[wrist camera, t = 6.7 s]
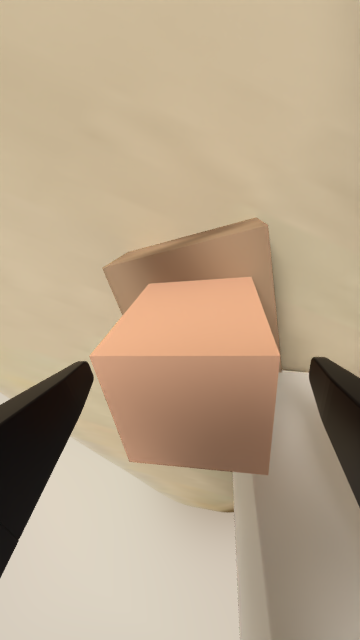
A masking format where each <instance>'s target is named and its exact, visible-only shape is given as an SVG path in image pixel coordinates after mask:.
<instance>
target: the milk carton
mask: <svg viewBox="0 0 360 640" xmlns="http://www.w3.org/2000/svg"><path fill="white" fill-rule="evenodd" d="M233 494H234V517H235V539H236V562H237V585H238V606H239V629H240V640H360V508H359V505H358V503H357V501H356V499H355V496H354V494H353V492H352V489H351V487H350V485H349V483H348V480H347V478H346V476H345V473H344V471H343V469H342V467H341V464H340V462H339V460H338V457H337V455H336V453H335V451H334V448H333V446H332V444H331V441H330V439H329V437H328V435H327V432H326V430H325V428H324V425H323V423H322V420H321V417H320V414H319V411H318V408H317V404H316V401H315V398H314V395H313V391H312V388H311V385H310V381H309V373H308V372H297V371H287V370H282V372H280V373H278V383H277V393H276V403H275V413H274V423H273V433H272V443H271V453H270V463H269V473H268V475H261V474H250V473H240V472H233Z"/></svg>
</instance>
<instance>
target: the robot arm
mask: <svg viewBox="0 0 360 640" xmlns="http://www.w3.org/2000/svg"><path fill="white" fill-rule="evenodd" d="M93 379H94V377H93V373H92V371H91V368H90V366H89V364H88V362H86V361H78V362H76V363H74V364H72V365H70V366H68V367H67V368H65V369H63V370H61V371H60V372H58V373H56V374H54V375H53V376H51V377H49V378H47V379H45V380H44V381H42V382H40V383H38V384H37V385H35V386H33V387H31V388H29V389H28V390H26V391H24V392H22V393H21V394H19V395H17V396H15V397H13V398H12V399H10V400H8V401H6V402H5V403H3V404H1V405H0V578H1V576H2V573H3V571H4V570H5V567H6V565H7V563H8V561H9V559H10V557H11V555H12V553H13V551H14V549H15V547H16V545H17V543H18V539H19V538H20V536H21V535H22V532H23V530H24V528H25V526H26V524H27V522H28V520H29V518H30V516H31V514H32V512H33V510H34V508H35V506H36V504H37V502H38V500H39V498H40V496H41V493H42V492H43V490H44V488H45V486H46V484H47V481H48V479H49V478H50V475H51V473H52V471H53V469H54V467H55V465H56V463H57V461H58V459H59V457H60V455H61V453H62V451H63V449H64V447H65V445H66V443H67V441H68V439H69V437H70V435H71V433H72V431H73V429H74V427H75V425H76V423H77V421H78V418H79V416H80V414H81V412H82V409H83V407H84V404H85V402H86V399H87V396H88V394H89V391H90V388H91V386H92V383H93ZM309 381H310V385H311V388H312V391H313V395H314V398H315V401H316V404H317V408H318V411H319V414H320V417H321V420H322V423H323V425H324V428H325V430H326V432H327V435H328V437H329V439H330V441H331V444H332V446H333V448H334V451H335V453H336V455H337V457H338V460H339V462H340V464H341V467H342V469H343V471H344V473H345V476H346V478H347V480H348V483H349V485H350V487H351V489H352V492H353V494H354V496H355V499H356V501H357V503H358V505H359V508H360V378H359V377H357V376H355V375H354V374H352V373H350V372H349V371H347V370H346V369H344V368H342V367H341V366H339V365H337V364H336V363H334V362H332V361H331V360H329V359H328V358H326V357H313V358H312V360H311V364H310V371H309Z"/></svg>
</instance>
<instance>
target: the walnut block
mask: <svg viewBox="0 0 360 640" xmlns="http://www.w3.org/2000/svg"><path fill="white" fill-rule="evenodd" d="M103 271H104V273H105V275H106V278H107V280H108V282H109V285H110V287H111V289H112V292H113V294H114V296H115V299H116V301H117V303H118V306H119V308H120V310H121V313H122V315H124V313H125V312H126V311H127V310H128V308H129V307H130V306H131V305H132V304H133V302H134V301H135V300H136V299H137V298H138V296H139V295H140V294H141V293H142V291H143V290H144V289H145V288H146V287H147V285H148V284H151V283H166V282H180V281H195V280H210V279H225V278H239V277H252V280H253V282H254V285H255V288H256V290H257V293H258V296H259V299H260V301H261V304H262V307H263V310H264V312H265V315H266V318H267V321H268V323H269V326H270V329H271V332H272V334H273V337H274V340H275V343H276V345H277V348H278V351H279V354H280V346H279V335H278V325H277V314H276V304H275V293H274V283H273V272H272V262H271V252H270V241H269V231H268V225H267V224H266V223H264V222H262V221H261V220H259V219H258V218H253V219H249V220H245V221H242V222H238V223H234V224H231V225H227V226H223V227H219V228H216V229H212V230H208V231H205V232H201V233H197V234H194V235H190V236H186V237H183V238H179V239H175V240H171V241H168V242H164V243H160V244H157V245H153V246H149V247H146V248H142V249H138V250H135V251H131V252H128V253H126V254H124V255H123V256H121V257H119V258H118V259H116V260H114V261H113V262H111V263H110V264H108V265H106V266H105V267H103ZM280 372H282V366H281V356H280V363H279V373H280Z"/></svg>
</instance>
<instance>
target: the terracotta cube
mask: <svg viewBox="0 0 360 640" xmlns="http://www.w3.org/2000/svg"><path fill="white" fill-rule="evenodd" d="M90 359H91V362H92V364H93V367H94V370H95V372H96V375H97V377H98V380H99V383H100V385H101V388H102V391H103V393H104V396H105V398H106V401H107V404H108V406H109V409H110V412H111V414H112V417H113V419H114V422H115V425H116V427H117V430H118V433H119V435H120V438H121V440H122V443H123V446H124V448H125V451H126V453H127V456H128V459H129V461H130V462H137V463H148V464H158V465H168V466H178V467H189V468H199V469H209V470H220V471H230V472H240V473H250V474H261V475H268V473H269V463H270V453H271V443H272V433H273V423H274V413H275V403H276V393H277V383H278V373H279V363H280V354H279V351H278V348H277V345H276V343H275V340H274V337H273V334H272V332H271V329H270V326H269V323H268V321H267V318H266V315H265V312H264V310H263V307H262V304H261V301H260V299H259V296H258V293H257V290H256V288H255V285H254V282H253V280H252V277H239V278H225V279H210V280H195V281H180V282H166V283H151V284H148V285H147V287H146V288H145V289H144V290H143V291H142V293H141V294H140V295H139V296H138V298H137V299H136V300H135V301H134V302H133V304H132V305H131V306H130V307H129V308H128V310H127V311H126V312H125V313H124V315H123V316H122V317H121V318H120V319H119V321H118V322H117V323H116V324H115V326H114V327H113V328H112V329H111V330H110V332H109V333H108V334H107V335H106V336H105V338H104V339H103V340H102V341H101V343H100V344H99V345H98V346H97V347H96V349H95V350H94V351H93V352H92V353H91V355H90Z"/></svg>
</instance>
